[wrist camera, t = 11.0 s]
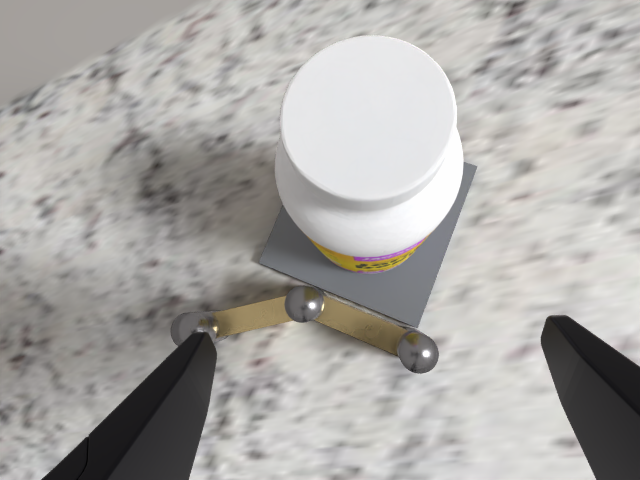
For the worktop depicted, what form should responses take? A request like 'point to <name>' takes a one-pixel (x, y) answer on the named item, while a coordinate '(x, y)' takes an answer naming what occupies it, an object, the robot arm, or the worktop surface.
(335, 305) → the bent rail
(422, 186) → the supplement bottle
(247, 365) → the worktop surface
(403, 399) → the worktop surface
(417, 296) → the slate coaster
